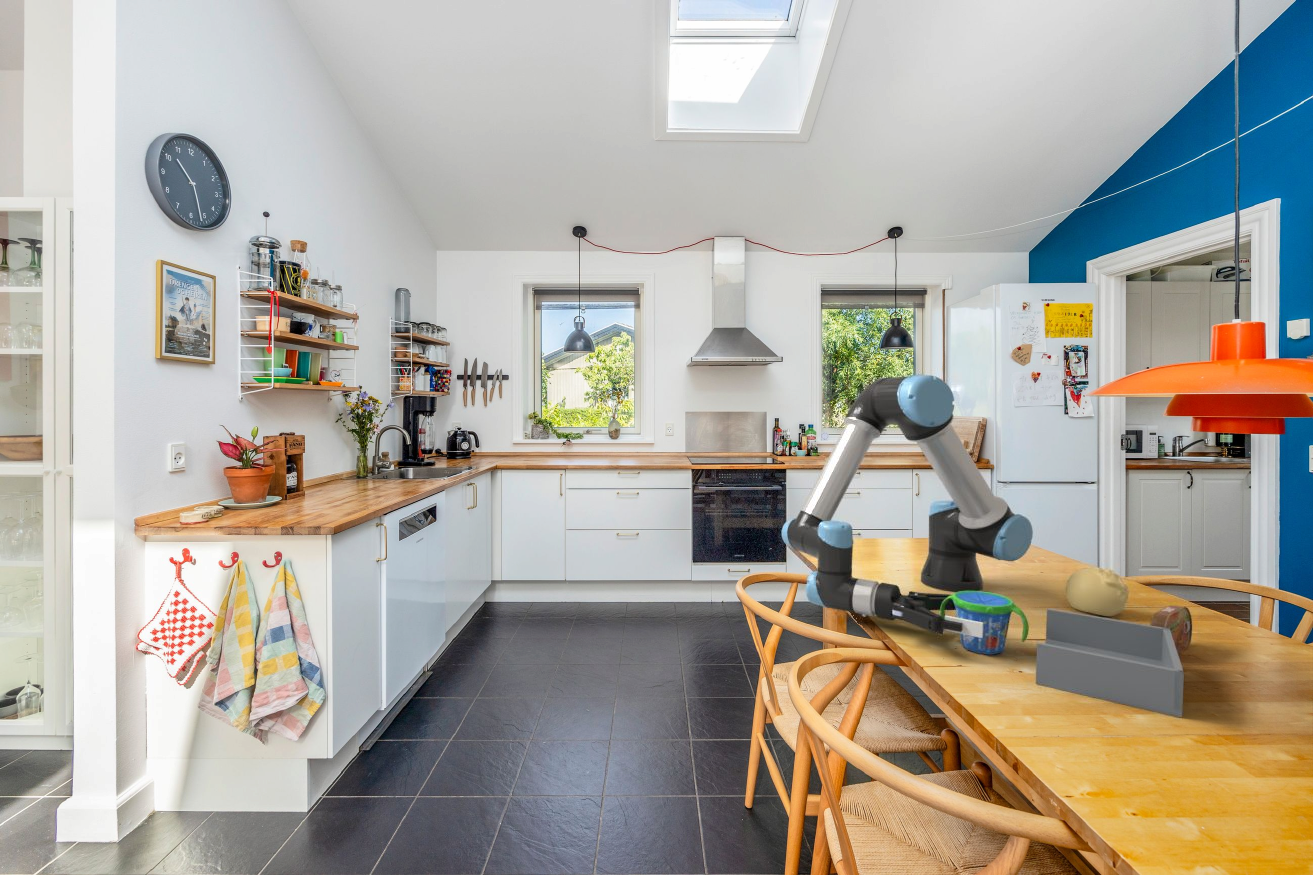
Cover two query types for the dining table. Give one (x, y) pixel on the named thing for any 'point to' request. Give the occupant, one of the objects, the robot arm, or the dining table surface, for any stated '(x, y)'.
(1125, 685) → the bin
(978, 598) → the snack cup
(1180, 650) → the tin
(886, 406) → the robot arm
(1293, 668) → the dining table surface
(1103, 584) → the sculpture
